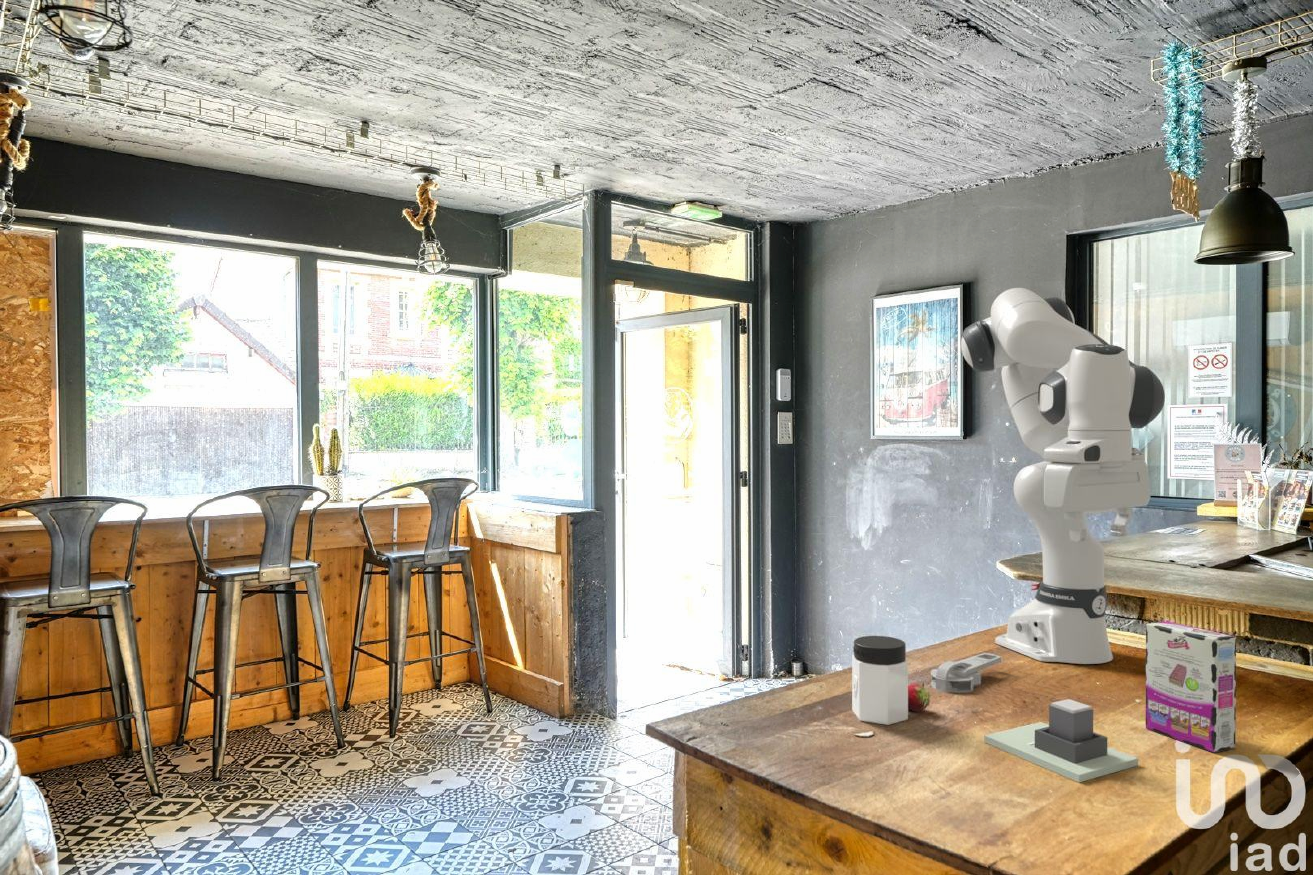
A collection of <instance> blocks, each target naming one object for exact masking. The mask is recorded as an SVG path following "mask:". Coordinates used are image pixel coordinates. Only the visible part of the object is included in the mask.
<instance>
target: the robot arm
mask: <svg viewBox="0 0 1313 875" xmlns="http://www.w3.org/2000/svg"><path fill="white" fill-rule="evenodd" d="M990 307H991V308H990V316H989V317H986V318H985V319H982V320H978V321H977V320H976V321H974V323H972V324H970V325H969V326H967V327H965V328H964V330H963V332H962V334H961V341H960V342H961V343H960V348H961V349H960V350H961V353H962V356H963V357H964V360H965V361H966V362H967V364H968V365H969V366H970V367H971V368H972V369H973V370H974V371H976V372H978V373H982V372H984V373H985V372H991V371H994V370H995V369H998V368H1001V380H1002V388H1003V391H1004V395H1005V398H1006V402H1007V405H1008V408H1009V410H1010V413H1011V416H1012V418H1013V419H1014V424H1015V425H1016V428H1017V430H1018V433H1019V435H1020V438H1021V441H1022V442H1023V444H1024V445H1025V446H1026V447H1027V448H1028V449H1029V450H1031V451H1032V452H1034V453H1036V454H1038V455H1039V457H1041V458H1042V459H1044V460H1043V461H1041V462H1037V463H1033V464H1030V465H1027V466H1024V467H1022V469H1020V470H1019V472H1018V473H1017V474H1016V476H1015V479H1014V483H1013V494H1014V495H1013V496H1014V498H1015V500H1016V503H1017V504H1018V507H1020V508H1021V509H1022V511H1024V512H1025V513H1026V514H1028V516H1029V517H1030V518H1031V520H1032V522H1033V523H1034V525H1035V527H1036V530H1037V533H1038V534H1039V539H1040V542H1041V554H1042V558H1041V559H1042V581H1040V582H1039V583H1035V584H1030V586H1031V587H1032V588H1031V589H1030V591H1036V593H1035V596H1034V599H1032V600H1031V601H1030V602H1028V603H1026V604H1025V605H1023V606H1022V607H1020V608H1019V609H1017V610H1015V611H1014V612H1013V613H1012V614H1011V615H1010V616H1009V618H1008V623H1007V627H1006V628H1007V630H1006V633H1004V634H1000V635H998V636H997V637H995V639H994V643H995V644H997V645H999V646H1002V647H1004V648H1007V649H1009V650H1012V651H1014V652H1017V653H1020V654H1022V655H1025V656H1027V657H1029V658H1031V659H1034V660H1036V661H1037V660H1038V661H1040V662H1048V663H1049V662H1051V663H1053V662H1054V663H1057V662H1058V663H1068V664H1078V665H1095V664H1097V665H1099V664H1104V663H1108V662H1111V661H1113V659H1114V655H1113V653H1112V649H1111V646H1110V641H1109V637H1108V636H1109V635H1108V630H1107V624H1106V623H1107V622H1106V611H1107V600H1108V598H1107V586H1106V585H1105V548H1104V546H1103V544H1102V543H1101V542H1100V541H1099V540H1098V539H1096V538H1095V537H1093V536H1092V534H1091V533H1090V531H1089V529H1088V525H1087V523H1086V515H1094V514H1105V513H1108V512H1111V511H1114V514H1116V517H1115V520H1114V523H1113V524H1110V535H1111V536H1112V537H1117V538H1122V537H1126V536H1127V535H1128V525H1129V524H1130V521H1131V520H1132V517H1133V513H1134V512H1133V509H1134V508H1138V507H1146V506H1148V504H1149V502H1150V500H1151V484H1150V483H1151V482H1150V473H1149V468H1148V465H1147V463H1146V462H1145V455H1144V454H1143V453H1142V452H1141V451H1140V450H1139V448H1137V447H1133V445H1132V441H1133V440H1132V438H1133V437H1132V436H1133V435H1132V432H1133V430H1132V429H1143V428H1145V427H1146V426H1148V425H1149V424H1150V423H1152V422H1153V421H1154V420H1155V419H1156V418H1157V417H1158V416H1159V415H1160V413H1161V412H1162V410H1163V408H1164V406H1165V399H1166V396H1165V395H1166V393H1165V389H1164V385H1163V383H1162V381H1161V380H1160V379H1159V377H1158V376H1157V375H1156V373H1155V372H1154V371H1152V370H1151V369H1150V368H1148V367H1147V366H1144V365H1138V364H1136V363H1133V362H1132V361H1131V360H1130V359H1129V355H1128V352H1127V350H1126V349H1125V348H1123V347H1122V346H1119V345H1113V344H1110V343H1108V342H1107V341H1106V340H1104V339H1103V338H1102V337H1101V336H1099V335H1097V334H1096V333H1093V332H1091V331H1090V330H1087V329H1085V328H1083V327H1081V326H1079V325H1077V324H1075V317H1074V313H1073V311H1072V310H1071V309H1070V308H1069V306H1068V305H1067V303H1066V301H1064V300H1063V299H1062V298H1059V297H1056V296H1055V297H1046V298H1043V297H1042V296H1040V295H1038V293H1035V292H1034V291H1032V290H1030V289H1028V288H1025V287H1014V288H1013V287H1012V288H1009V289H1006V290H1005V291H1002V292H1001V293H1000V294H999V295H998V296H997V297H996V298H995V299H994V301H993V302H992V304H991V306H990ZM1056 369H1057V370H1056Z"/></svg>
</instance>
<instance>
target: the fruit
mask: <svg viewBox="0 0 1313 875" xmlns="http://www.w3.org/2000/svg"><path fill="white" fill-rule="evenodd" d="M930 698H931V695H930V690H929V689H926V688H925V684H924V683H923V682H922V685H921V684H920V683H911V684H910V683H909V684H908V710H910V711H913V712H921V711H924V710H926V708H927V707H928V706H930V701H931V699H930Z"/></svg>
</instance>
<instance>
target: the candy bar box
mask: <svg viewBox="0 0 1313 875" xmlns="http://www.w3.org/2000/svg"><path fill="white" fill-rule="evenodd" d="M1236 681H1237V636H1236V635H1231V634H1226V633H1222V632H1217V631H1213V630H1209V629H1203V628H1199V627H1195V626H1190V625H1185V624H1181V623H1177V622H1172V621H1167V620H1166V621H1157V622H1151V623H1150V622H1149V623H1146V624H1145V729H1147V730H1149V731H1152V732H1154V733H1157V734H1160V735H1163V736H1166V737H1168V738H1171V739H1175V740H1176V741H1180V742H1183V743H1186V744H1189V745H1191V746H1194V747H1197V748H1200V749H1203V750H1206V751H1209V752H1211V753H1218V752H1223V751H1227V750H1232V749H1236V713H1237V712H1236V708H1237V707H1236V705H1237V704H1236V703H1237V702H1236V700H1237V696H1236V694H1237V692H1236V691H1237V690H1236V688H1237V687H1236V686H1237V684H1236V683H1237V682H1236Z"/></svg>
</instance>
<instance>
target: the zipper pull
mask: <svg viewBox="0 0 1313 875" xmlns="http://www.w3.org/2000/svg"><path fill="white" fill-rule="evenodd" d="M1001 662H1002V656H1001V655H997V654H993V653H987V652H982V653H980V654H977V655H974V656H970V657H967V658H964V659H960V660H957V661H953V660H947V661H945V662H943V663H942V664H941V665H938V668H933V669H931V671H930V675H931V680H932V681H931V682H930V686H931V687H932V689H934V690H937V691H940V692H945V693H956V694H959V693H970V692H974V687H978V686H979V687H980V686H981V685H982V684H981V683H982V672H980V671H981V670H984V669H986V668H989V667H991V666H995V665H998V664H999V663H1001Z"/></svg>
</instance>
